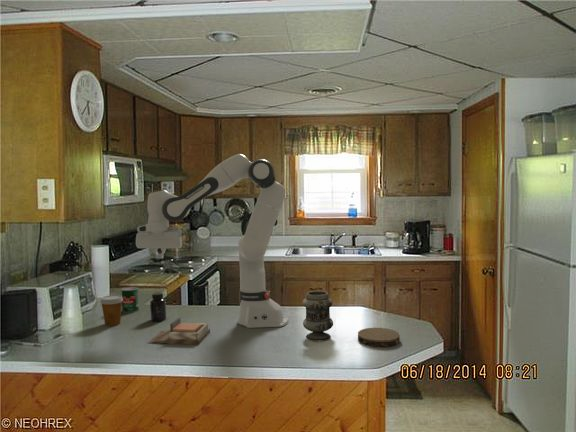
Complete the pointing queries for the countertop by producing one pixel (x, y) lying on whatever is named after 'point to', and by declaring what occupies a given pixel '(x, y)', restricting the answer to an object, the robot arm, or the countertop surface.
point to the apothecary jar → (317, 315)
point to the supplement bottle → (158, 307)
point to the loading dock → (181, 336)
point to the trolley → (184, 327)
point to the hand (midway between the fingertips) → (159, 258)
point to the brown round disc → (378, 337)
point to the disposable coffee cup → (112, 309)
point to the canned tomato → (130, 299)
